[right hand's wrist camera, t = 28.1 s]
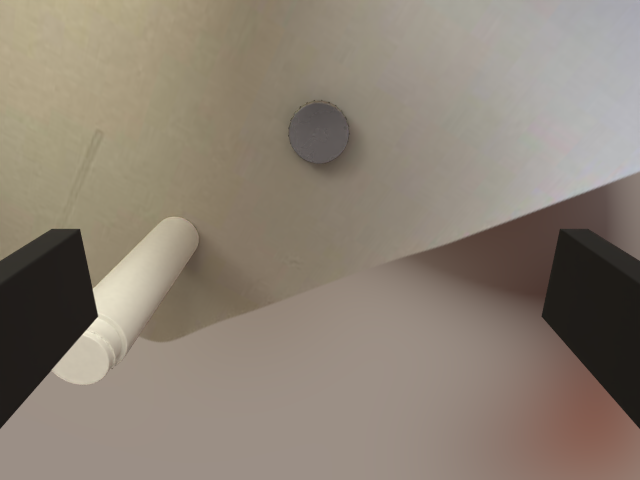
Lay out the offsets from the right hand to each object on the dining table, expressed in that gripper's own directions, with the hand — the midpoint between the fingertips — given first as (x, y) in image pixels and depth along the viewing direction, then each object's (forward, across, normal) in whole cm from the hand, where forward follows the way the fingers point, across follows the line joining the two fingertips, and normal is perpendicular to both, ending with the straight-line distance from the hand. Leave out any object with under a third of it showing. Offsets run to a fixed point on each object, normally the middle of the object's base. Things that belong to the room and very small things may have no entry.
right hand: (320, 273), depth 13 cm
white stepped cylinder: (+30, +14, +11) cm, 35 cm away
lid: (+29, 0, 0) cm, 29 cm away
